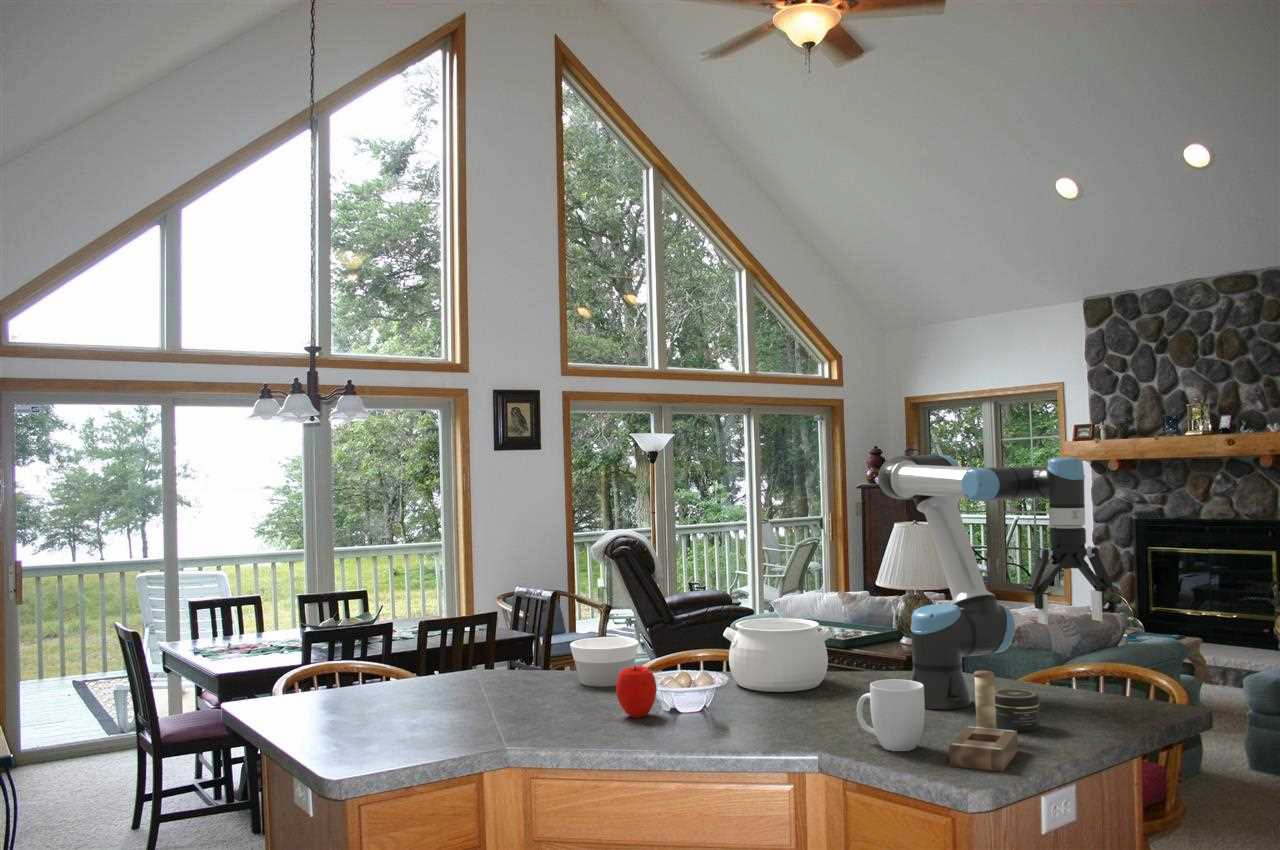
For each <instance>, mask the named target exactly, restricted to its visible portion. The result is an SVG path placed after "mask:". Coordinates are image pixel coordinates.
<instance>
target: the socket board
mask: <svg viewBox="0 0 1280 850" xmlns="http://www.w3.org/2000/svg"><path fill="white" fill-rule="evenodd" d="M1018 745H1019V743H1018V732H1017V731H1013V730H1003V729H998V728H996V729H992V728H981V727H976V726H969V725H967V726H965V728H963V730H962V731H961V732H960V733H959V734H958V735H957V736H956V737H955V738H954V739H953V740H952V742H950V743H949V745H948V746H949V747H948V750H949V753H948V754H949V766H951V767H959V768H967V769H976V770H984V771H985V770H986V771H992V772H993V771H994V772H1004V771H1005V770H1006V768H1007V767H1008V766H1009V764H1010V763H1011V761H1012V759H1014V757H1015V756H1016V754H1017V753H1018V751H1019V750H1018V749H1019V746H1018Z"/></svg>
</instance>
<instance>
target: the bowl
mask: <svg viewBox="0 0 1280 850" xmlns="http://www.w3.org/2000/svg"><path fill="white" fill-rule="evenodd" d="M639 644H640V642H639V640H637V639H634V638H630V637H619V636H602V637H600V636H599V637H597V636H596V637H588V638H581V639H578V640H574V641H572V642H571V643H570V644H569V646H570V650H571V655H572V657H573V661H574V664H575V668H576V669H575V670H576V673H577V675H578V679H579V682H580V684H582V685H583V686H587V687H588V686H589V687H599V688H600V687H616V682H617V678H618V676H619V673H620V672H621V671H622V670H623V669H626V668H631V667H634V666H635V661H636V657H637V654H638V648H639Z"/></svg>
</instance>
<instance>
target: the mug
mask: <svg viewBox="0 0 1280 850" xmlns="http://www.w3.org/2000/svg"><path fill="white" fill-rule="evenodd" d="M866 699H869V702H870V707H869V709H870V715H871V722H872V726H873V727H871V726H869V725H868V724H867V722H866V720H865V719H864V714H863V713H864V712H863V707H864V703H865V701H866ZM925 711H926V708H925V702H924V685H923V684H922V683H919V682H916V681H910V679H909V680H908V679H879V680H876V681H875V680H874V681H872V682H870V684H869V692H867V693H864V694H862V695H861V696H860V697H859V699H858V702H857V704H856V718H857V721H858V723H859V726H860V727H861V728H862V729H863V730H864V731H866V732H867V733H868V734H872V735H874V736H876V739H877V740H878V742H879V744H880V746H881V747H882V748H883V749H884V750H886V751H889V750H891V751H890V752H895V751H907V752H911V751H910V750H912V751H914V750H915V749H916V748H917V747H918V745H919V742H920V740H921V738H922V734H923V730H924V727H925V726H924V725H925V715H926V713H925ZM913 749H914V750H913Z"/></svg>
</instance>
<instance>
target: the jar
mask: <svg viewBox="0 0 1280 850" xmlns="http://www.w3.org/2000/svg"><path fill="white" fill-rule="evenodd" d="M995 710H996V729H1003V730H1013V731H1017V733H1031V732H1036V730H1037V729H1038V728H1039V724H1040V698H1039V694H1038V693H1037V692H1035V691H1032V690H1029V689H1024V688H1023V689H1022V688H1000V689H999V688H998V689H995Z"/></svg>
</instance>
